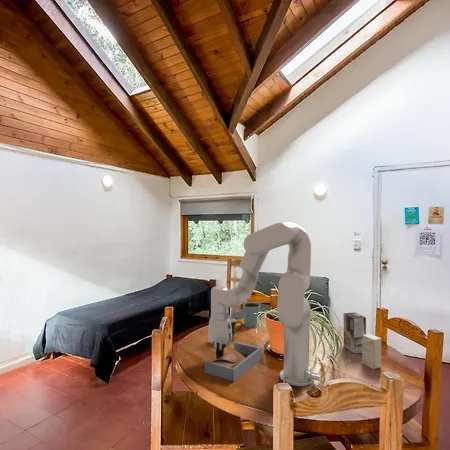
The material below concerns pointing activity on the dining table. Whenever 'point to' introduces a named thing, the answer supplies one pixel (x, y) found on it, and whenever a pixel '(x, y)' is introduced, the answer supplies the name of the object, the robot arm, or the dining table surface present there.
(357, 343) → the coffee box
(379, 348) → the skincare box
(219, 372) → the bin
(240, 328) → the coffee mug
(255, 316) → the blue-grey cylindrical container
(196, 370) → the dining table surface
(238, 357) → the sunglasses case
